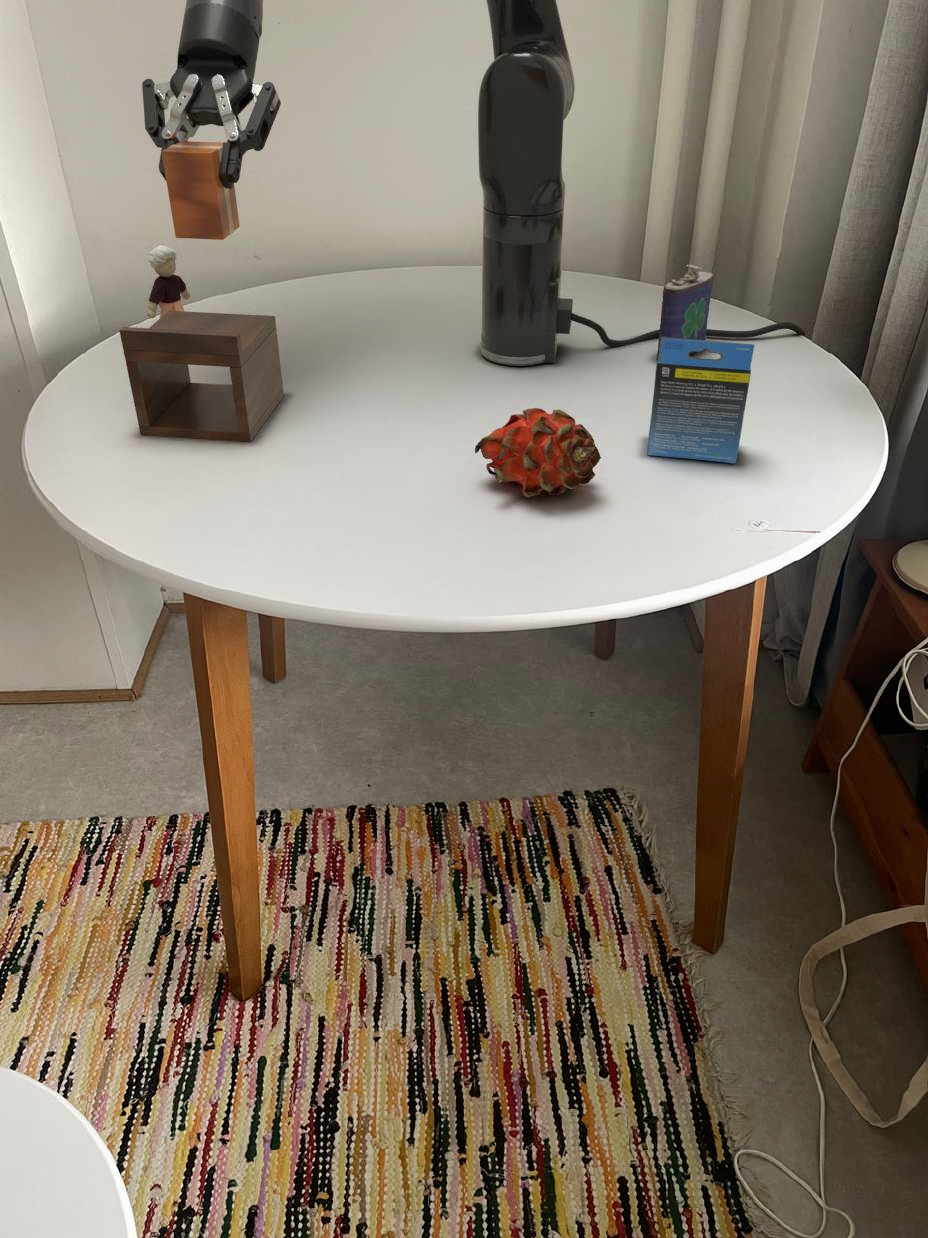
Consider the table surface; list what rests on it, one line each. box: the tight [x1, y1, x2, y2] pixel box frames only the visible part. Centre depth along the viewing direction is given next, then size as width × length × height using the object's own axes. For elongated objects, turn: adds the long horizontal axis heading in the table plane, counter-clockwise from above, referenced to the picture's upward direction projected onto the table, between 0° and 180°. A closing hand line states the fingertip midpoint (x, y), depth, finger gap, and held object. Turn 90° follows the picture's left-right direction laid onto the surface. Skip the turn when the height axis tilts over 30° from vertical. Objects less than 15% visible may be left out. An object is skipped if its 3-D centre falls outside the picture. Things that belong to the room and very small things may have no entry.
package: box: [162, 140, 240, 241], centre depth 99 cm, size 5×5×8 cm
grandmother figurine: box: [146, 244, 191, 319], centre depth 121 cm, size 8×4×13 cm, turn 168°
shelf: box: [118, 310, 285, 443], centre depth 105 cm, size 12×12×11 cm
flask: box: [655, 264, 715, 363], centre depth 121 cm, size 9×3×11 cm, turn 138°
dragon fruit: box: [473, 407, 602, 499], centre depth 93 cm, size 8×8×12 cm
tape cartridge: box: [646, 337, 755, 464], centre depth 98 cm, size 9×4×12 cm, turn 77°
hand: (197, 181), depth 98 cm, fingers closed on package, 5 cm apart
